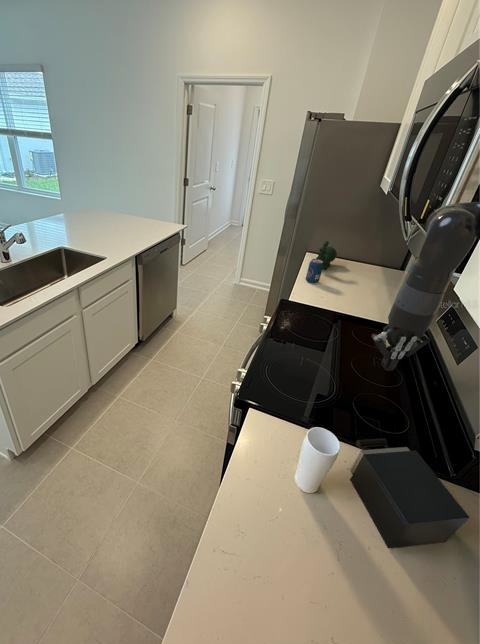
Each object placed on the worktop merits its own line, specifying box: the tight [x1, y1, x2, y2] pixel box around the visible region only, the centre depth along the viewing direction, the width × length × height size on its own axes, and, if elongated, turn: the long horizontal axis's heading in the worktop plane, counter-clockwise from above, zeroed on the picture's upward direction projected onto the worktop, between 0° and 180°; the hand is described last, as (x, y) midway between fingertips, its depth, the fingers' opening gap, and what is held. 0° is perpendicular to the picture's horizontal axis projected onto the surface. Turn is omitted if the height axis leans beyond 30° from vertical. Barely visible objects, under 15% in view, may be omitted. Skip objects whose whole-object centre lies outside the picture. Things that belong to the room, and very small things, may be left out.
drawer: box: [349, 437, 411, 476], centre depth 67 cm, size 16×11×8 cm
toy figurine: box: [315, 240, 338, 271], centre depth 181 cm, size 9×19×25 cm
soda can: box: [305, 258, 323, 285], centre depth 163 cm, size 7×7×12 cm
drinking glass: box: [294, 426, 341, 494], centre depth 67 cm, size 7×7×15 cm
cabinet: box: [349, 449, 470, 550], centre depth 64 cm, size 14×13×10 cm
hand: (387, 368), depth 73 cm, fingers closed
